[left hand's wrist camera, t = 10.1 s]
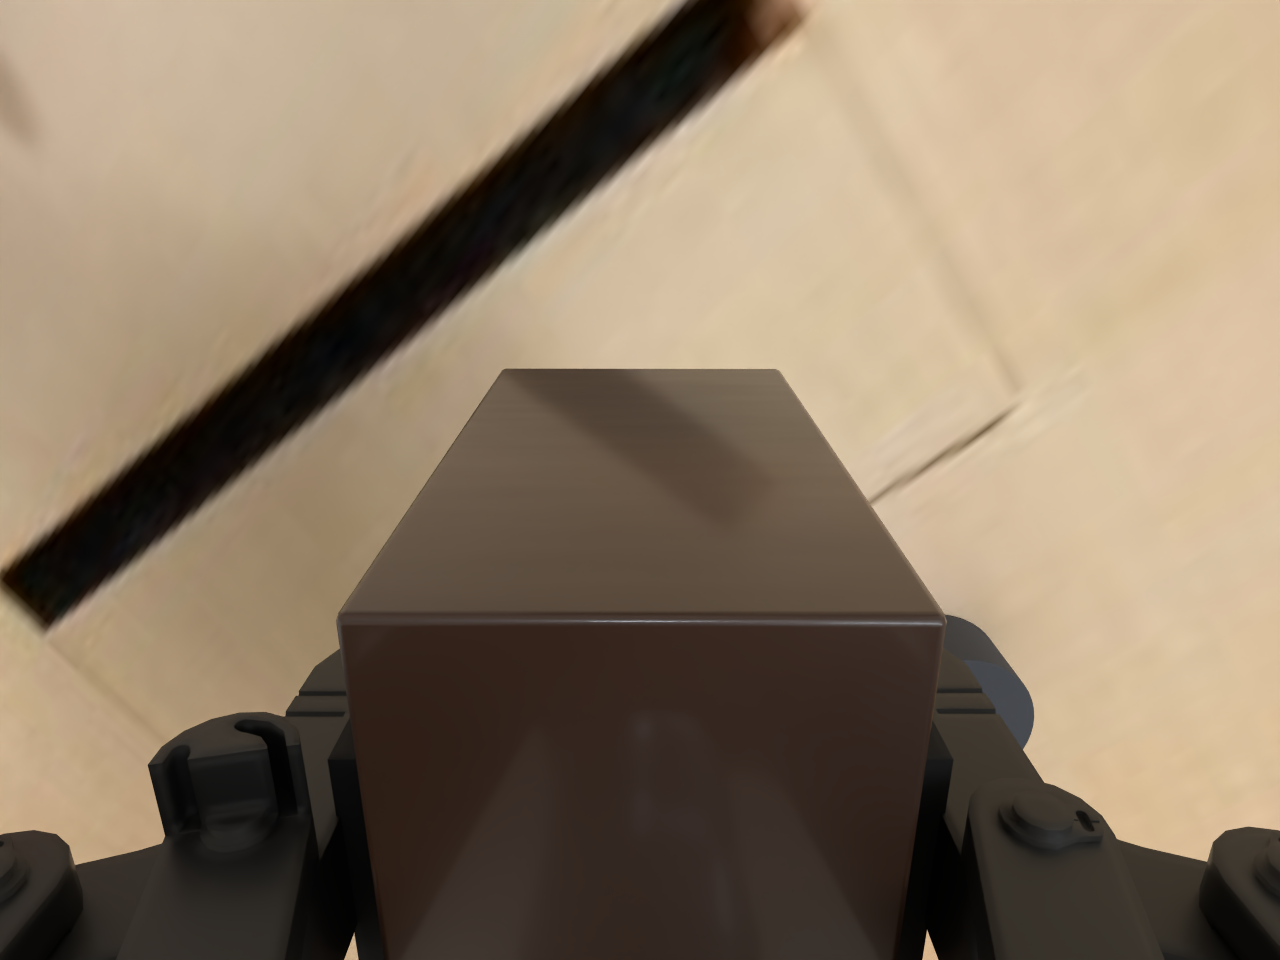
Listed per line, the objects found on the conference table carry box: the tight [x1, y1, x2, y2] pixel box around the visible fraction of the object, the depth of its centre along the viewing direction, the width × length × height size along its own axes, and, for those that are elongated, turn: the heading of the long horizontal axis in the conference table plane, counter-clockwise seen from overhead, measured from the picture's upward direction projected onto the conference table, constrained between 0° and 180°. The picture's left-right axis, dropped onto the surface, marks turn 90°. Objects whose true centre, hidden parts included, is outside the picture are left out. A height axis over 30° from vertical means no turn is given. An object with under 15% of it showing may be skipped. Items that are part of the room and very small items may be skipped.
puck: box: [943, 615, 1034, 750], centre depth 29 cm, size 5×5×3 cm
